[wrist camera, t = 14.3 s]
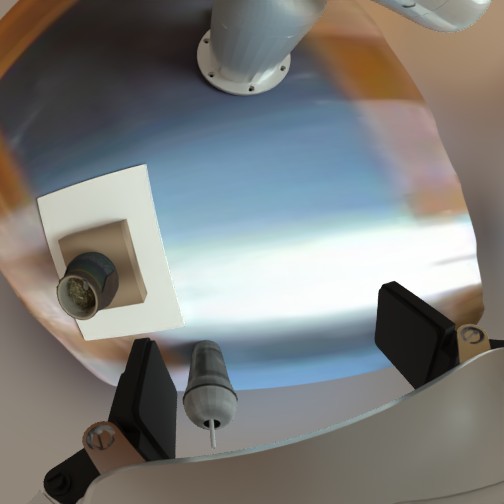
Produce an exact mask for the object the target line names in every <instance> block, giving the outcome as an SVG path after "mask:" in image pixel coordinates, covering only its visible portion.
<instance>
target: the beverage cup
mask: <svg viewBox="0 0 504 504" xmlns="http://www.w3.org/2000/svg"><path fill="white" fill-rule="evenodd" d="M237 400H238V399H237V396H236V393H235V392H234V390H233V388H232V385H231V384H230V381H229V377H228V373H227V370H226V366H225V363H224V359H223V355H222V352H221V350H220V347H219V346H218V344H216V343H215V342H213V341H207V340H205V341H201V342H199V343H197V344H196V345H195V347H194V349H193V354H192V359H191V365H190V372H189V378H188V385H187V388H186V391H185V394H184V396H183V405H184V408H185V412H186V414H187V416H188V417H189V419H190V420H191V421H192V422H193V423H194V424H195V425H197V426H198V427H201V428H203V429H207V430H210V438H211V449H216V444H215V432H214V430H216V429H220V428H223V427H225V426H226V425H227V424H229V423H230V422H231V420H232V419H233V418H234V416H235V413H236V409H237Z"/></svg>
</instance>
